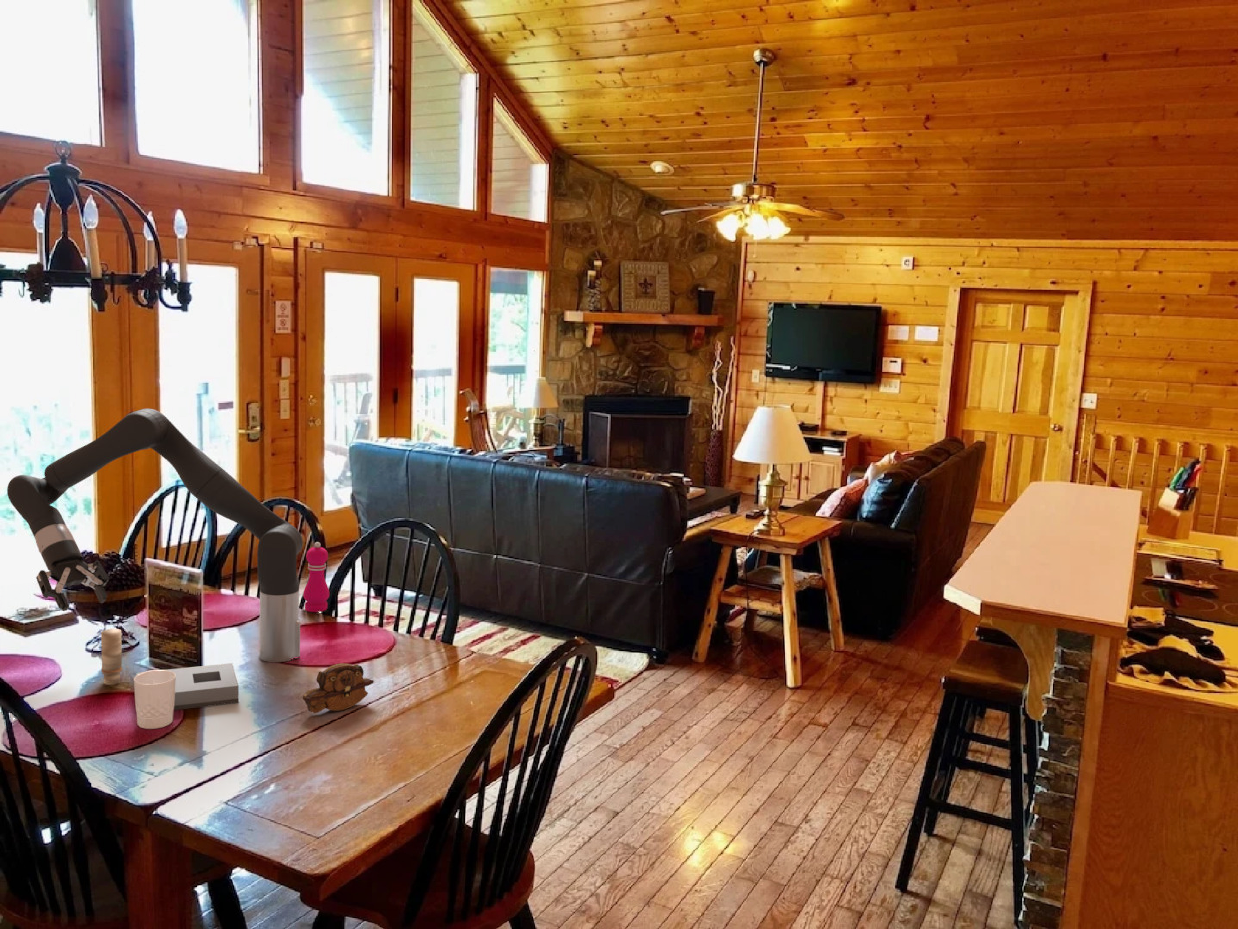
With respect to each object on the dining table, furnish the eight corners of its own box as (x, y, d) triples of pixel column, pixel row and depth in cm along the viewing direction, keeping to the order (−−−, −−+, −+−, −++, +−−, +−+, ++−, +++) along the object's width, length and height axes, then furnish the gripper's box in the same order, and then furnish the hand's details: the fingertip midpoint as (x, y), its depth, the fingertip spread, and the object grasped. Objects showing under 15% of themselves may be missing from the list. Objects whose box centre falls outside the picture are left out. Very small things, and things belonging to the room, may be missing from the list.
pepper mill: (333, 606, 282) (334, 540, 278) (323, 613, 274) (324, 546, 271) (309, 604, 282) (310, 538, 279) (298, 611, 275) (299, 543, 272)
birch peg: (122, 677, 221) (121, 628, 220) (122, 684, 218) (121, 634, 216) (101, 679, 220) (101, 629, 218) (101, 686, 216) (100, 635, 214)
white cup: (184, 719, 203) (184, 674, 201) (155, 733, 196) (155, 687, 194) (155, 711, 205) (154, 667, 204) (125, 725, 198) (124, 679, 196)
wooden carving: (312, 723, 205) (313, 678, 204) (300, 716, 208) (301, 672, 207) (376, 702, 218) (377, 660, 216) (364, 696, 221) (365, 655, 219)
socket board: (232, 679, 225) (232, 663, 224) (238, 702, 213) (238, 685, 212) (136, 689, 216) (136, 672, 215) (137, 714, 203) (137, 696, 203)
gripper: (31, 543, 218) (59, 603, 214) (94, 534, 230) (121, 590, 226) (20, 561, 222) (47, 620, 218) (82, 551, 234) (109, 606, 230)
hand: (85, 605), depth 222 cm, fingers open, 8 cm apart
